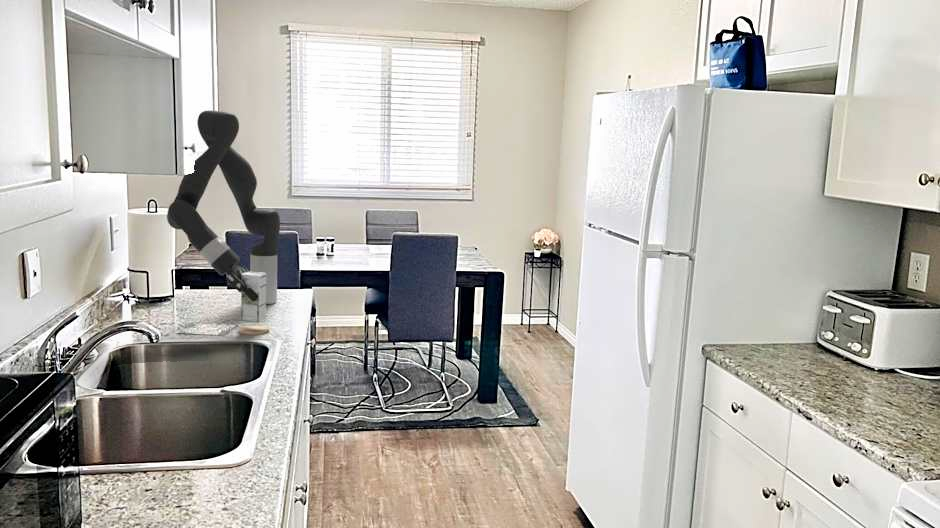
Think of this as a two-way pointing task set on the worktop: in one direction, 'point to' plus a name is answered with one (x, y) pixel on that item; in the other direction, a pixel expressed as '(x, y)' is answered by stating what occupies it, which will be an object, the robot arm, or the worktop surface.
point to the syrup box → (257, 308)
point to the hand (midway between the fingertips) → (259, 297)
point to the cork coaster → (253, 330)
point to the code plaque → (218, 334)
